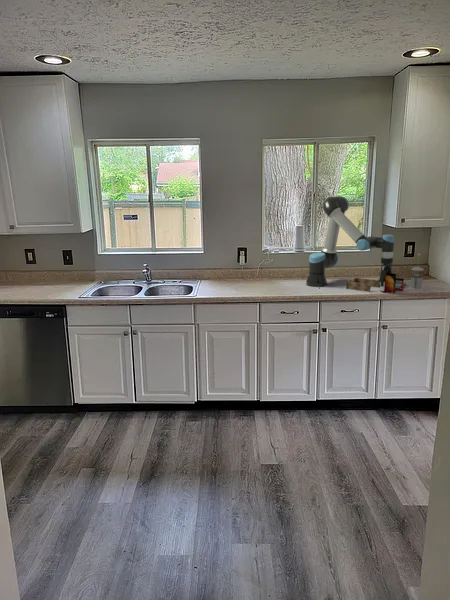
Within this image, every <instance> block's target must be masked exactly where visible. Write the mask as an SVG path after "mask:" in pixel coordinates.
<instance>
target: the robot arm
mask: <svg viewBox="0 0 450 600" xmlns="http://www.w3.org/2000/svg"><path fill="white" fill-rule="evenodd" d="M349 207H350V202H349V200H348V199H347V197H345V196H341V195H340V196H338V195H337V196H329V197H327V198H326V199H325V200H324V201H323V204H322V209H323V212H324V213H325V215H326V216H328V224H327V230H326V235H325V240H324V245H323V248H322V249H321V250H320V251H321V252H320V251H319V252H314V253H311V254H310V255H309V258H308V277H307V279H306V282H305V284H306V285H307V286H308V287H318V288H319V287H326V286H327V283H328V281H327V278H326V275H325V274H326V269H330V268H333V267H335V266H336V265H337V264H338V262H339V256H338V251H337V250H336V247H337V243H338V238H339V234H340V233H339V232H340V228H341V229H342V230H343V232H345V233H346V234H347V235H348V236H349V238H351V240H352V241H353V242H354V243H355V244H356V248H357V250H358V251H367V250H372V249H381V255H380V256H381V259H380V263H381V264H383V265H382V266H381V267H380V274H379V279H380V280H379V281H380V282H381V284H380V287H379V292H381V291H384V289H385V282H384V281H385V276H386V273H387V274H388V275H389V276H390V273H392V271H393V270H392V264H393V261H394V258H393V257H394V255H395V253H394V248H395V247H394V246H395V236H394V234H383V235H382V237H381V236H380V237H379V236H366V235H365V233H363V232H362V231H361V229H359V228H358V227H357V226H356V225H355V224H354V223H353V222H352V221H351V220H350V219H349V217H347V216H346V214H345V213H346V212H347V211H348V210H349Z"/></svg>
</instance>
